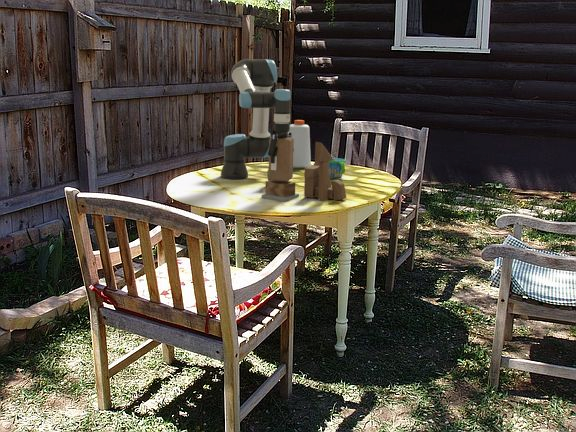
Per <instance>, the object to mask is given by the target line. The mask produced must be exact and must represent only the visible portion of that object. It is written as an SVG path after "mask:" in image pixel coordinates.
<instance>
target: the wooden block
mask: <svg viewBox="0 0 576 432" xmlns="http://www.w3.org/2000/svg"><path fill="white" fill-rule="evenodd" d="M270 143H271V139H270V140H269V147H270ZM277 146H278V151H277V154H276V157H277V169H276V170H271V156H269V157H268V167H269V180H274V181H289V182H290V180H292V178H293V177H294V168H293V148H294V139H293V138H292V137H287V138H283V139H281V138H280V139H277V142H276V147H277Z"/></svg>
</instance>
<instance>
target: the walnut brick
mask: <svg viewBox="0 0 576 432" xmlns="http://www.w3.org/2000/svg"><path fill="white" fill-rule="evenodd" d="M264 188H265V191H264V192H265V193H264V194H270V195H275V196H280V197H288V196H293V195H295V193H296V182H294V181H290V180H289V181H274V180H270V181H268V180H266V181H265V187H264Z"/></svg>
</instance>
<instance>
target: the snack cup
mask: <svg viewBox="0 0 576 432" xmlns="http://www.w3.org/2000/svg"><path fill="white" fill-rule="evenodd" d="M333 159H334V161H329V172H330V178H332V179H340V178H342V177H343V174H345V172H346V168H345V164H346V159H345V158H339V157H333Z"/></svg>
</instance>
